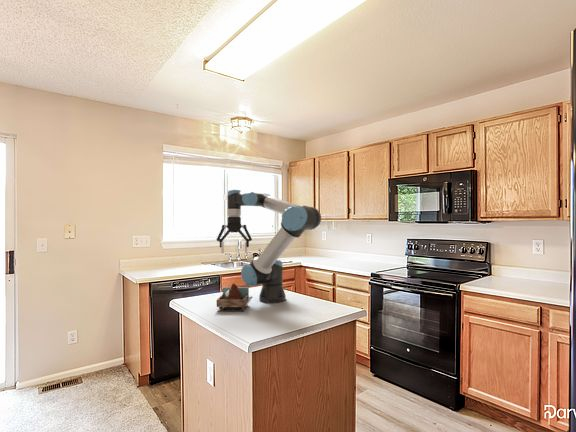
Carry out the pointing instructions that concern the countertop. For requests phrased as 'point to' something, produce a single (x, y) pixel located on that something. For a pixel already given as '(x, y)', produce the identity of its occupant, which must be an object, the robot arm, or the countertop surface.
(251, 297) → the track
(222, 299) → the shallow wooden tray
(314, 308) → the countertop surface
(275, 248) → the robot arm
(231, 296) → the poop emoji
